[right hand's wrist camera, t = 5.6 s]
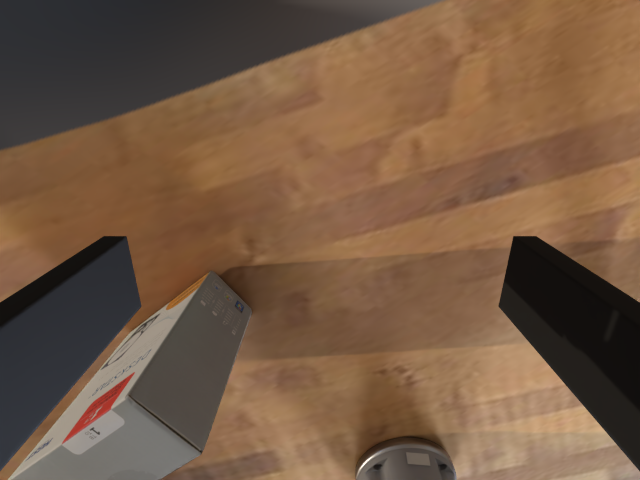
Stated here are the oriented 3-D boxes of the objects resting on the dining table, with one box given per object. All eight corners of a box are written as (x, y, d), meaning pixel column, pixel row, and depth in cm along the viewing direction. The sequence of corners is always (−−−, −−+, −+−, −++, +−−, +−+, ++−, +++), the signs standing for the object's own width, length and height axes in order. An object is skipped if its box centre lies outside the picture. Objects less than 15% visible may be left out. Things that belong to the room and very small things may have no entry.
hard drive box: (212, 266, 43) (130, 393, 25) (254, 309, 45) (209, 455, 27) (126, 333, 47) (-1, 488, 28) (169, 369, 49) (78, 535, 30)
